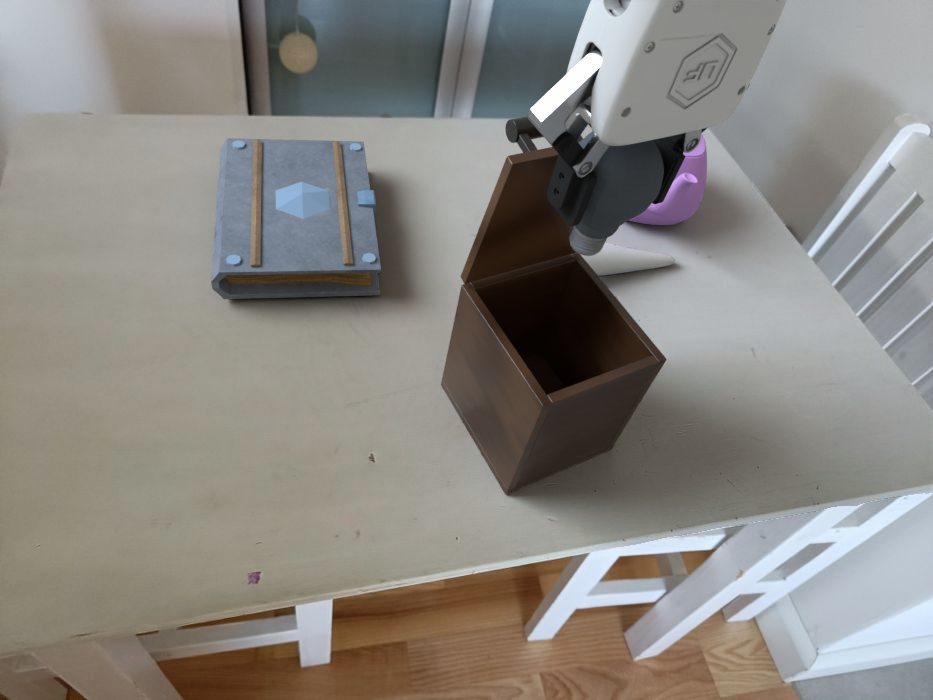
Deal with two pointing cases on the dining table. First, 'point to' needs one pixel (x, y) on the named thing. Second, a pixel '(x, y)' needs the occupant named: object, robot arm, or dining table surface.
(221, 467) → the dining table surface
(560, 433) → the chest
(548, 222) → the lid
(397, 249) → the dining table surface
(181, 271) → the dining table surface
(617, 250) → the long cone
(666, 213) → the teapot
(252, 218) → the book
